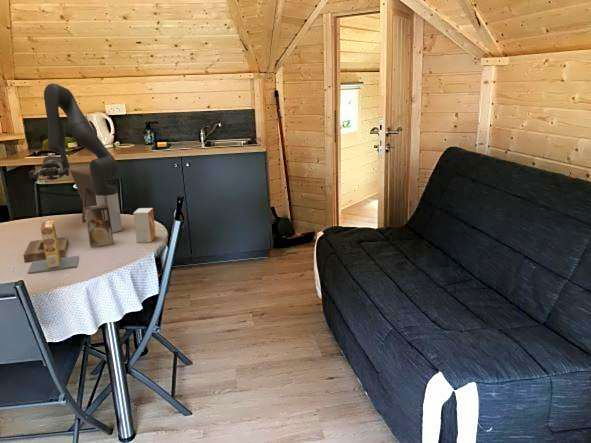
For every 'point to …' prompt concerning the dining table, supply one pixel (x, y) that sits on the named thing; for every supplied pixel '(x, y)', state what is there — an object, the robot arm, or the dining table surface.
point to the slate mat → (43, 267)
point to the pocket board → (36, 252)
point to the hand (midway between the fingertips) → (47, 175)
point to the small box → (144, 224)
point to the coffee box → (98, 225)
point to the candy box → (50, 244)
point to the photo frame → (84, 186)
